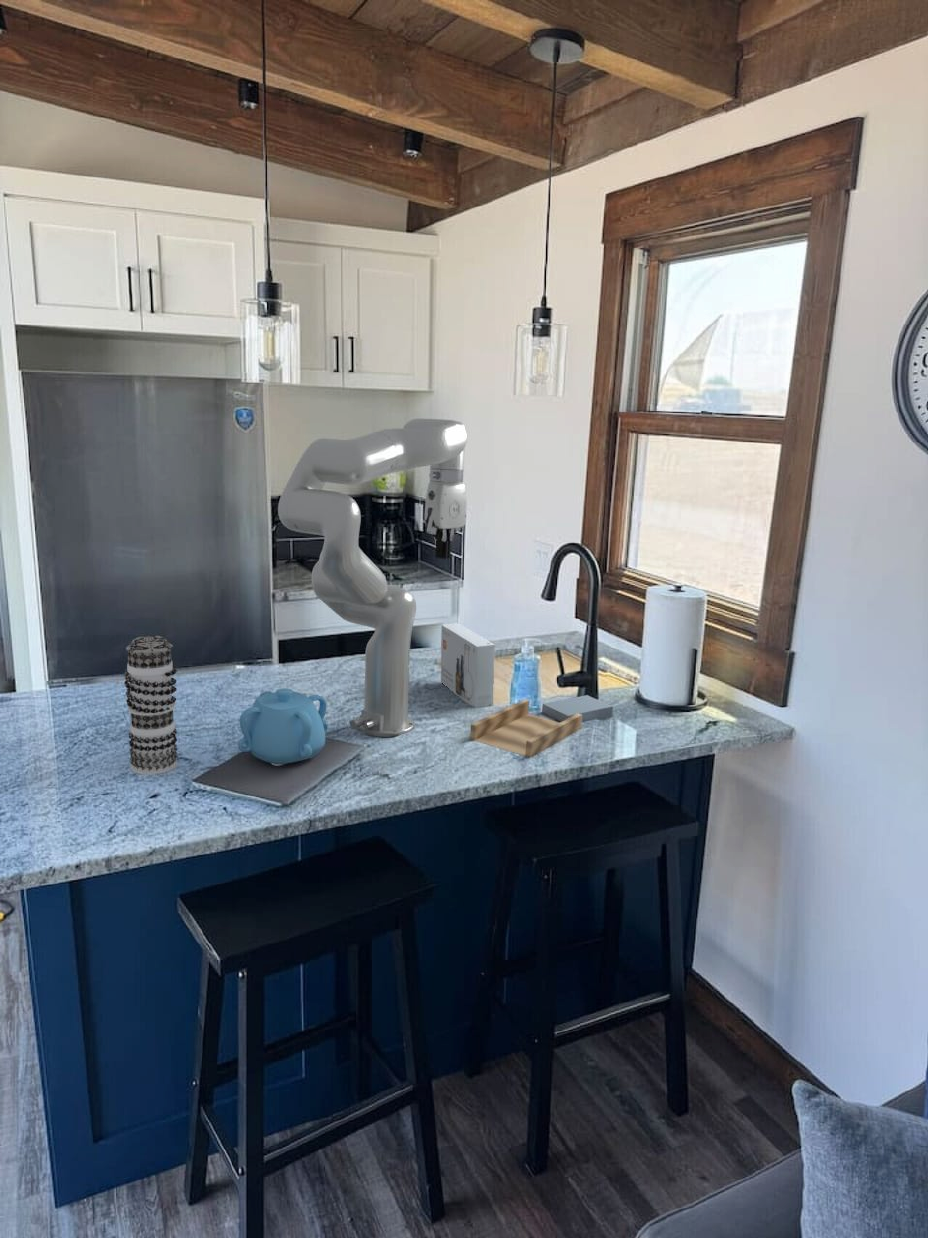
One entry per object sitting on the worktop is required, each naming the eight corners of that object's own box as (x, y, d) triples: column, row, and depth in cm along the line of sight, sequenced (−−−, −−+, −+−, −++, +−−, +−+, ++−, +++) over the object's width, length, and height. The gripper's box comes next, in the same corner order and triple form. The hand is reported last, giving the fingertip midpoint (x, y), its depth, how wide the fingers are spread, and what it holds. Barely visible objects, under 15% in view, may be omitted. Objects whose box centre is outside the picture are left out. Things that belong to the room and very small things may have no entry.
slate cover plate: (567, 728, 192) (568, 715, 191) (541, 715, 199) (542, 703, 198) (611, 718, 199) (613, 706, 199) (585, 706, 207) (587, 695, 206)
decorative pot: (227, 765, 162) (225, 698, 159) (263, 735, 178) (262, 673, 174) (307, 776, 159) (307, 708, 156) (336, 745, 175) (337, 682, 171)
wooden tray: (530, 759, 172) (531, 742, 171) (470, 741, 180) (470, 724, 179) (581, 730, 189) (582, 714, 188) (524, 714, 198) (525, 699, 197)
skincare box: (438, 683, 218) (440, 623, 214) (457, 681, 220) (460, 622, 216) (473, 710, 199) (476, 645, 195) (493, 708, 201) (497, 643, 198)
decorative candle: (162, 752, 167) (157, 629, 161) (189, 766, 161) (185, 639, 155) (119, 765, 160) (112, 638, 154) (145, 780, 154) (139, 648, 148)
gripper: (437, 479, 182) (433, 563, 186) (479, 477, 193) (475, 557, 197) (411, 476, 186) (408, 558, 190) (454, 475, 198) (450, 552, 202)
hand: (442, 557), depth 194 cm, fingers closed
